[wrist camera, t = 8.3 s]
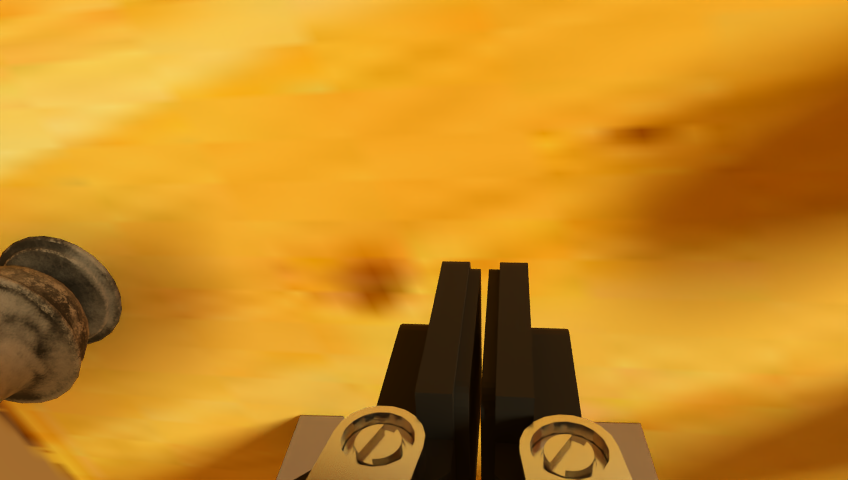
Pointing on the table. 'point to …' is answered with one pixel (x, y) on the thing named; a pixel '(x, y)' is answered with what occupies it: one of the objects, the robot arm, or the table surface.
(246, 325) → the table surface
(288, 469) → the bridge
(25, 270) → the grey tall rounded piece
